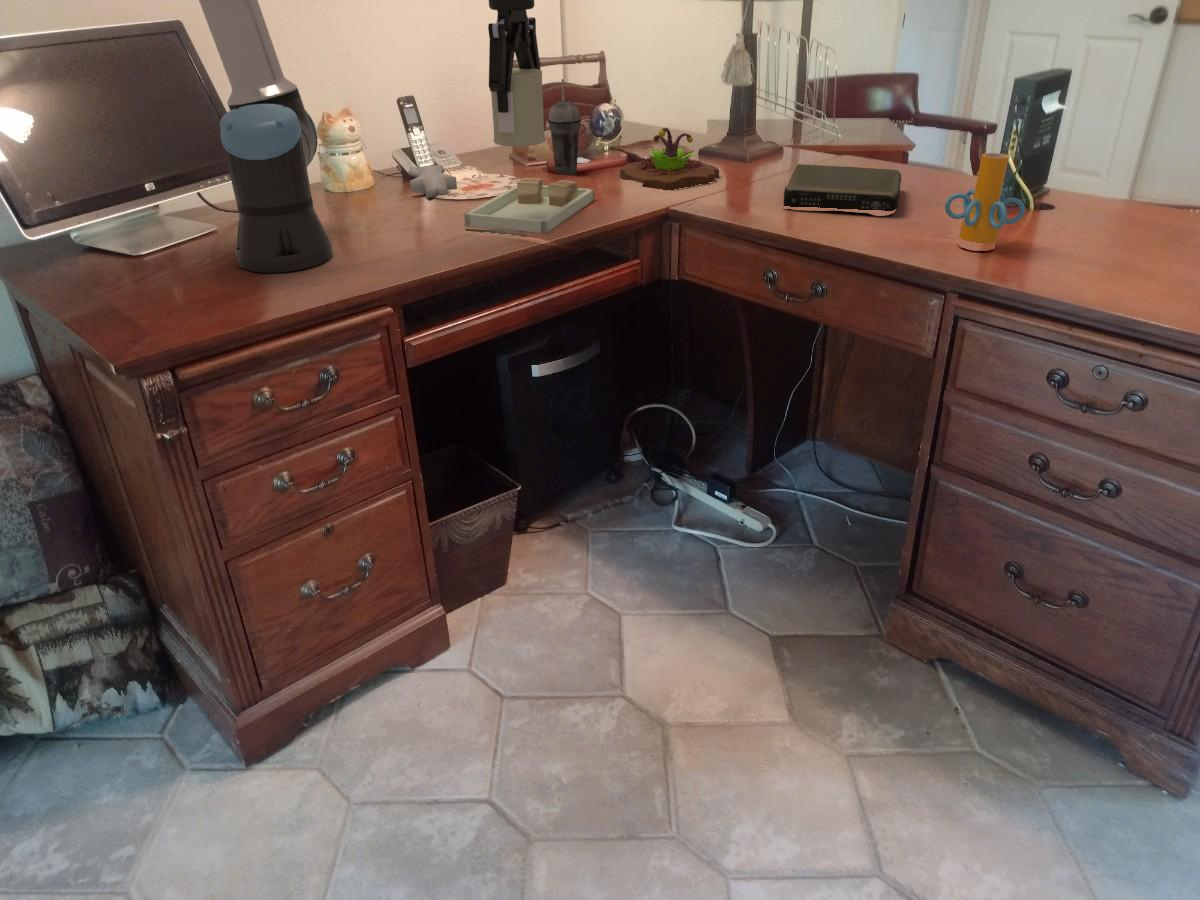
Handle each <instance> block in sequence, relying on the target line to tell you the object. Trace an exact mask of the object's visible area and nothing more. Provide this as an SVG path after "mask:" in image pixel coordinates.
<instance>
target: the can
mask: <svg viewBox="0 0 1200 900" xmlns="http://www.w3.org/2000/svg"><path fill="white" fill-rule="evenodd" d="M509 92H513V105H514V122H515V132H514V133H508V132H499V124H498V110H497V95H496V92H491V91H490V96H491V108H492V110H491V111H492V120H493V121H492V123H493V143H494V144H495V145H498V146H502V147H531V146H537V145H540V144H543V143H545V142H546V136H545V135H546V134H545V123H544V122H545V121H544V120H545V119H544V99H543V98H544V97H543V70H539V69H521V68H519V67H513V69H512V75H511V84H510V91H509Z"/></svg>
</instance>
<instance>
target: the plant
mask: <svg viewBox="0 0 1200 900" xmlns="http://www.w3.org/2000/svg"><path fill="white" fill-rule="evenodd" d="M666 134H667V139H665V138H664V137H665V136H666ZM683 137H686V140H687V142H688V143H690V144H691V143H692V142H693V140H694V138H693V137H692V135H691V134H688V133H686V132H684V133H681V134H679V135H678V136H677V137H676V139H675V141H674V143H673V136H672V133H671V131H670V129H669V128H668V127H663V128H660V129H659V131H658V134H656V135H654V136H653V137H652V139H653V142H654V143H659V141H660V140H661V141H662V143H663V145H664V146H665V147H662V148H661V151H659V150H658V149H655V148H651V149H650V150H651V153H652V155H651V154H648V157H649V158H646V159H645V158H644V157H642V158H640V159H639V160H638V161H634V162H632V163H631V162H630V163H628V164H626V165H625V166H623V167H621V168H620V169H619V173H620V174H619V178H620V179H621V180H623V181H633V182H637V183H640V184H642V185H641V188H647V189H648V188H649V189H655V190H660V189H662V191H667V190H671V191H675V190H674V189H678V190H680V189H679V188H683V189H685V188H684V187H690V188H692V187H691V186H694V187H696V186H695V185H699V184H708V182H713V181H715V182H716V179H715V178H718V177H720V169H719V168H718V167H717V166H714V165H711V164H708V163H704V162H702V161H700V160H697V159H690V157H691V156H692V155H693V154H694V152H690V153H687V154H686V153H685V148H680V147H679V143H680V142H681V141H680V140H681V139H682V138H683ZM718 179H719V178H718ZM708 185H709V184H708ZM699 186H700V185H699Z"/></svg>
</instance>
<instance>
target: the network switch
mask: <svg viewBox="0 0 1200 900" xmlns="http://www.w3.org/2000/svg"><path fill="white" fill-rule="evenodd" d="M795 166H796V167H795V169H794V171H793V173H792V175H791V177H790V179H789V181H788V183H787V185H785V187H784V194H783V207H784V206H790V207H818V208H819V207H820V208H837V209H858V210H882V211H883V210H884V211H893V210H895V209H898V206H899V199H900V192H901V183H902V174H901V172H900V171H899V170H897V169H890V168H887V169H885V168H877V167H876V168H874V167H857V166H841V165H840V166H839V165H824V164H823V165H818V164H797V165H795Z"/></svg>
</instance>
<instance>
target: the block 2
mask: <svg viewBox="0 0 1200 900" xmlns="http://www.w3.org/2000/svg"><path fill="white" fill-rule="evenodd" d="M578 184H579V183H578V182H577V181H572V180H564V179H560V180H557V181H553V182H551V183H548V184H547V186H549V205H553V206H558V207H563V206H564V205H566V204H568V203H569V202H571V201H572V200H574V199H575V198H577V197H578V188H579V187H578Z"/></svg>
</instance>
